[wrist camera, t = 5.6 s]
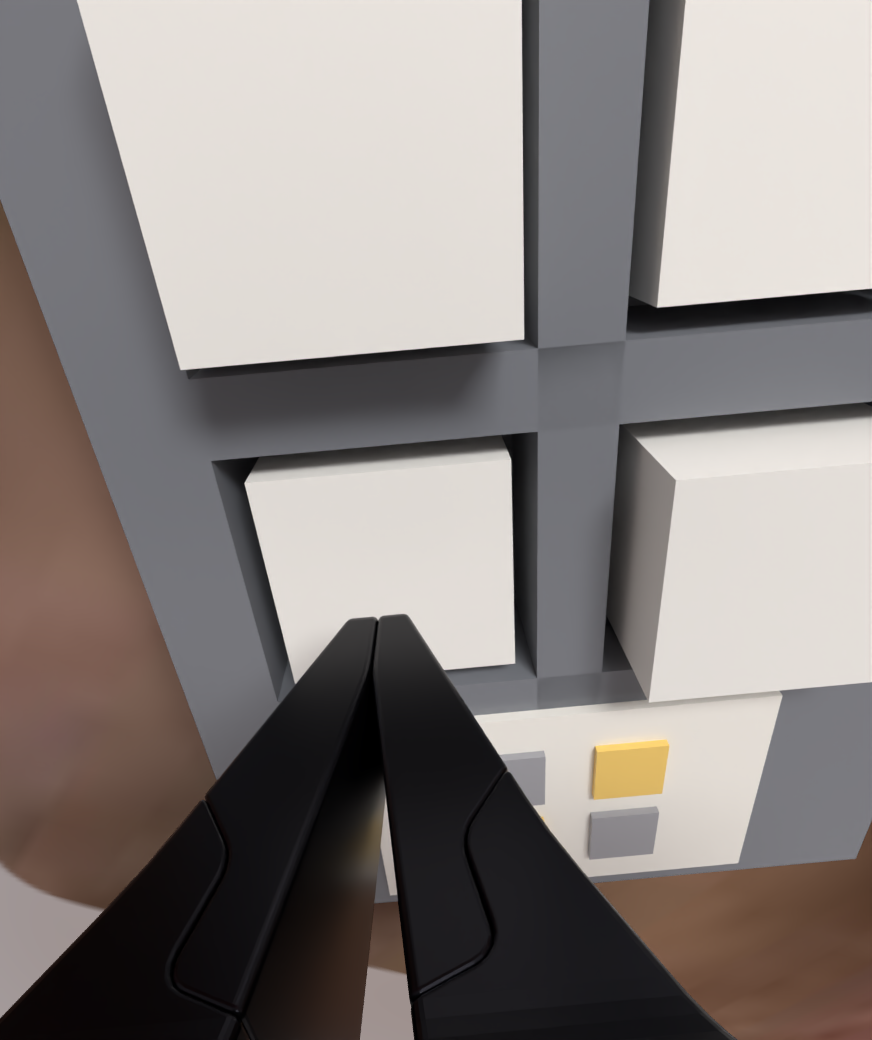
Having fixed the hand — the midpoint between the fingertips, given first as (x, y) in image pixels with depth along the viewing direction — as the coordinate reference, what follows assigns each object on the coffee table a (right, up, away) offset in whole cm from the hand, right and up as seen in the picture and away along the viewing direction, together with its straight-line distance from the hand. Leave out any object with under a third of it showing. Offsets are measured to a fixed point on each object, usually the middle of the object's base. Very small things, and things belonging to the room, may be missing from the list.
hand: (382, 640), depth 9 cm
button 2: (0, +2, +3) cm, 4 cm away
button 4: (+6, +2, +2) cm, 7 cm away
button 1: (-1, +7, 0) cm, 7 cm away
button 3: (+5, +8, +1) cm, 9 cm away
